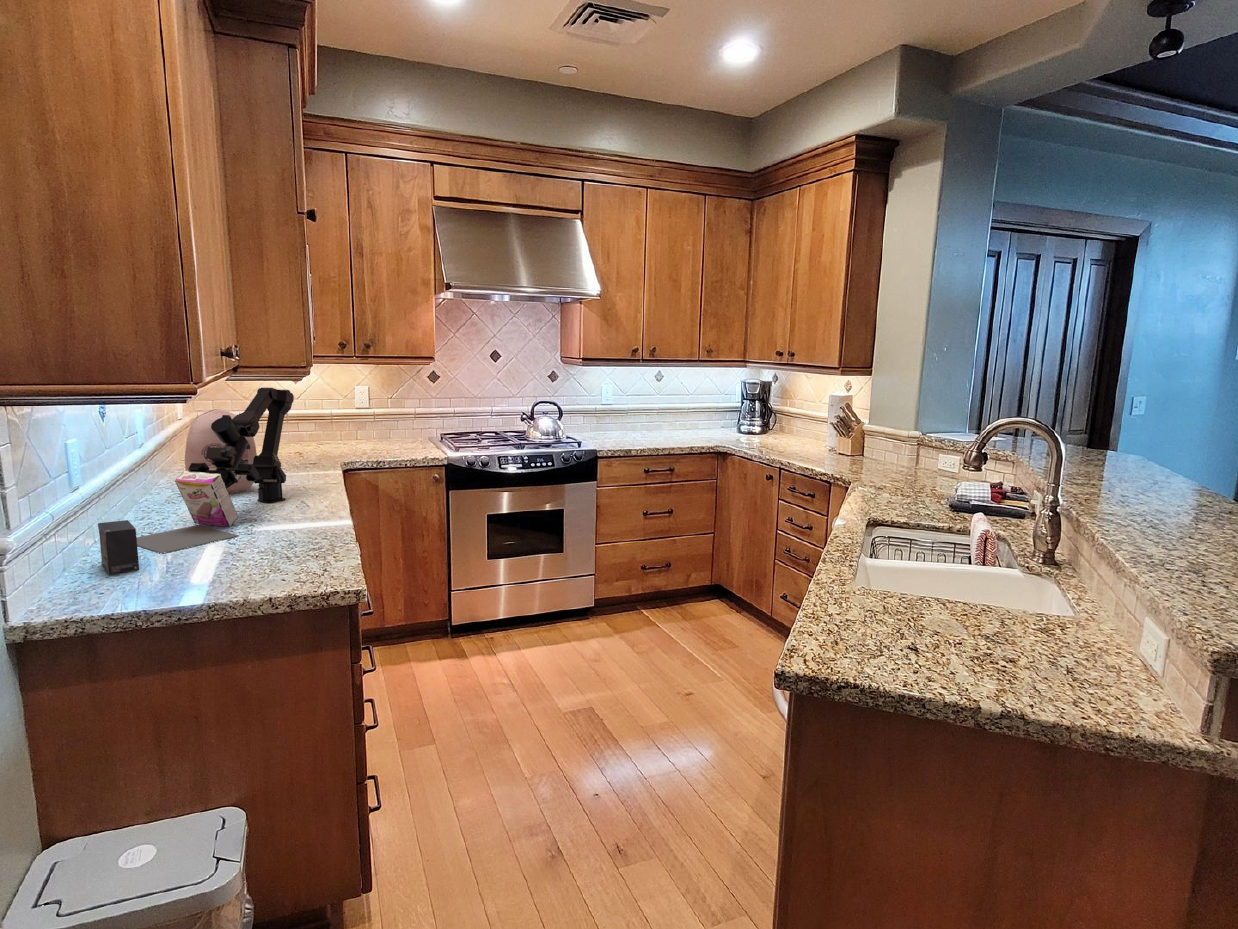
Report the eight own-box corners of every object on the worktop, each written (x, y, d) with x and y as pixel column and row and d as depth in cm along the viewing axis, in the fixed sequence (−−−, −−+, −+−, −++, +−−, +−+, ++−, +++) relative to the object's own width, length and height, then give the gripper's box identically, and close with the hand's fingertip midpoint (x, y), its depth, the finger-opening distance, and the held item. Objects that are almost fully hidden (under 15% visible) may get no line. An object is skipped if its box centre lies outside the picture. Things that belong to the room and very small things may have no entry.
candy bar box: (193, 525, 204) (172, 480, 194) (204, 513, 208) (184, 469, 198) (230, 528, 203) (210, 483, 193) (239, 516, 207) (221, 472, 197)
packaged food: (250, 485, 260) (244, 404, 255) (266, 494, 246) (260, 409, 241) (182, 492, 246) (174, 407, 240) (195, 502, 231) (187, 412, 226)
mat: (199, 525, 204) (199, 524, 204) (238, 536, 194) (238, 535, 194) (123, 541, 187) (123, 540, 187) (161, 554, 177) (161, 553, 177)
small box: (141, 570, 165) (137, 527, 163) (108, 576, 161) (103, 532, 159) (133, 559, 173) (128, 518, 171) (100, 565, 168) (96, 522, 167)
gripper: (189, 435, 206) (167, 479, 197) (251, 437, 206) (232, 480, 197) (207, 457, 215) (187, 500, 206) (267, 459, 215) (250, 502, 206)
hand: (213, 495), depth 204 cm, fingers closed
